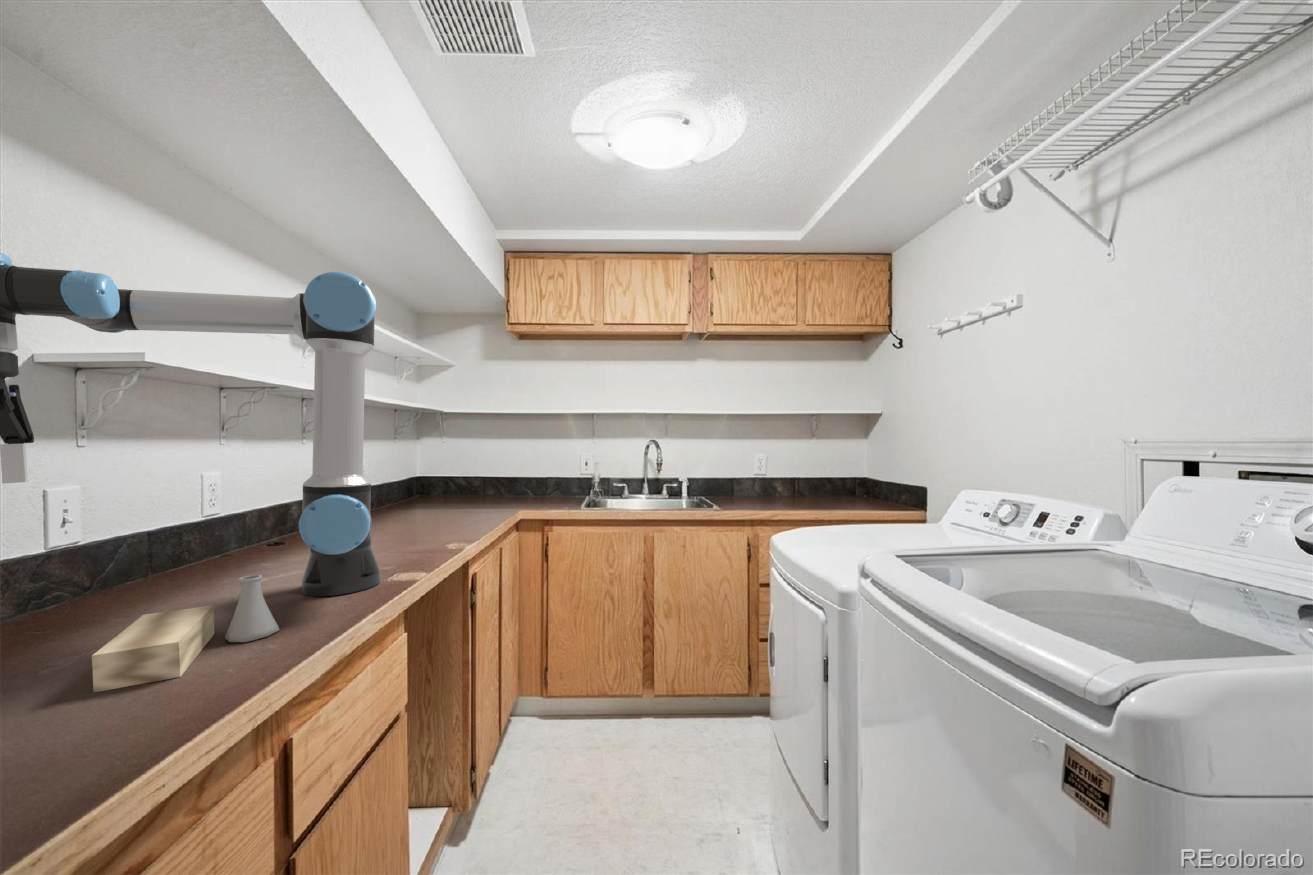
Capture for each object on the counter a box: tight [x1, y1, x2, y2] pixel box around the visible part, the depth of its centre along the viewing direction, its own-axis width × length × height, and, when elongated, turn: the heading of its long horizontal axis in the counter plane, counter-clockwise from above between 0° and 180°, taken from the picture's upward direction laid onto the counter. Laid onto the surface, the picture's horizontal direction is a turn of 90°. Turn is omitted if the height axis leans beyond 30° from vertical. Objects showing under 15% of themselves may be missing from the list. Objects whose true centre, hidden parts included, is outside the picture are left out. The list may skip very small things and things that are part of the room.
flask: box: [224, 574, 281, 643], centre depth 92 cm, size 7×7×10 cm
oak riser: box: [91, 604, 215, 693], centre depth 83 cm, size 9×18×5 cm, turn 27°
